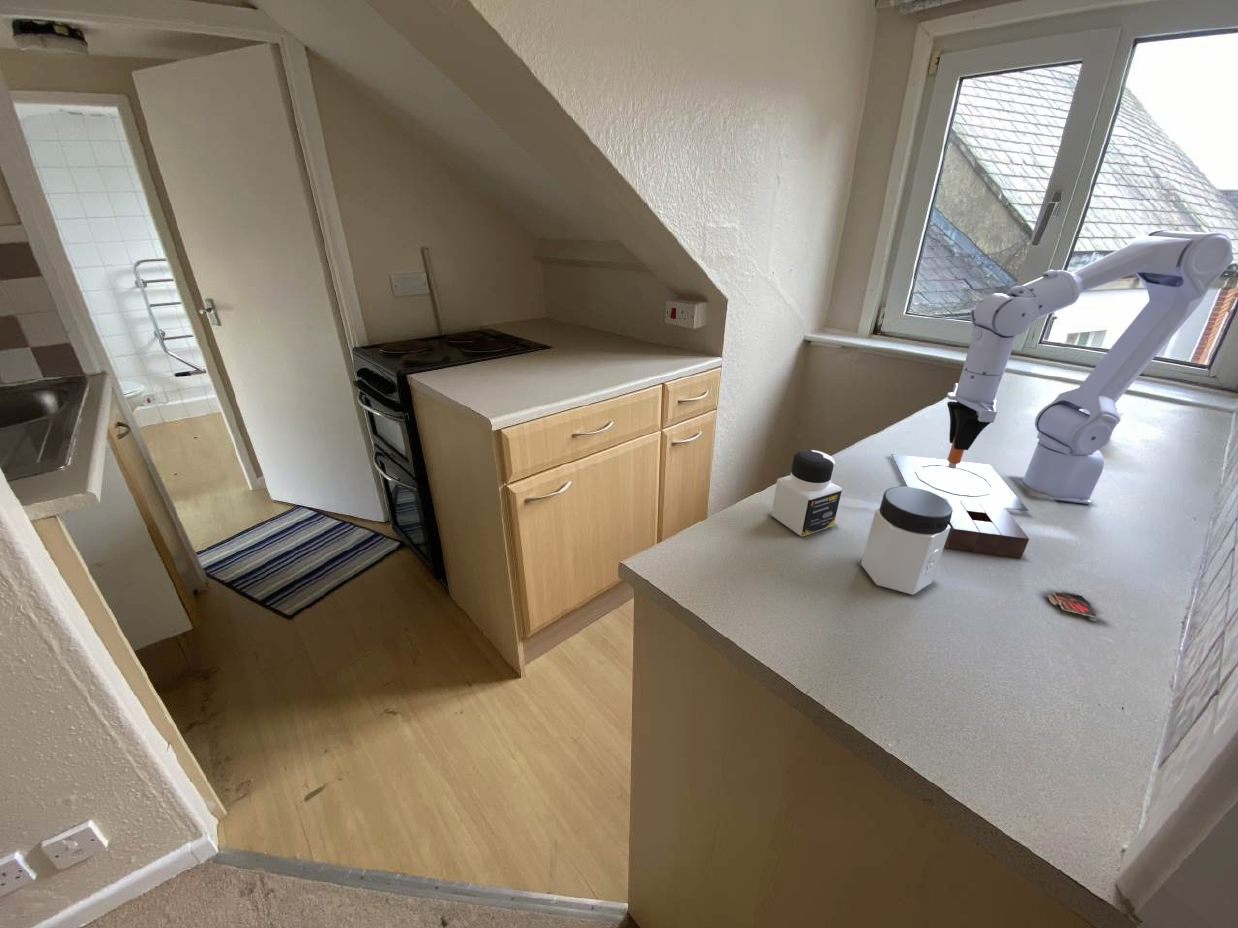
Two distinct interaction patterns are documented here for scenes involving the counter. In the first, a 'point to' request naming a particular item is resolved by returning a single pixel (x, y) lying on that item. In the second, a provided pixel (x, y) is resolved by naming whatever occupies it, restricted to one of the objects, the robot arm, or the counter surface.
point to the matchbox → (1073, 604)
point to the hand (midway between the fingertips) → (958, 445)
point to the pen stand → (984, 529)
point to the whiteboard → (957, 480)
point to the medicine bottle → (807, 494)
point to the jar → (907, 539)
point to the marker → (954, 456)
